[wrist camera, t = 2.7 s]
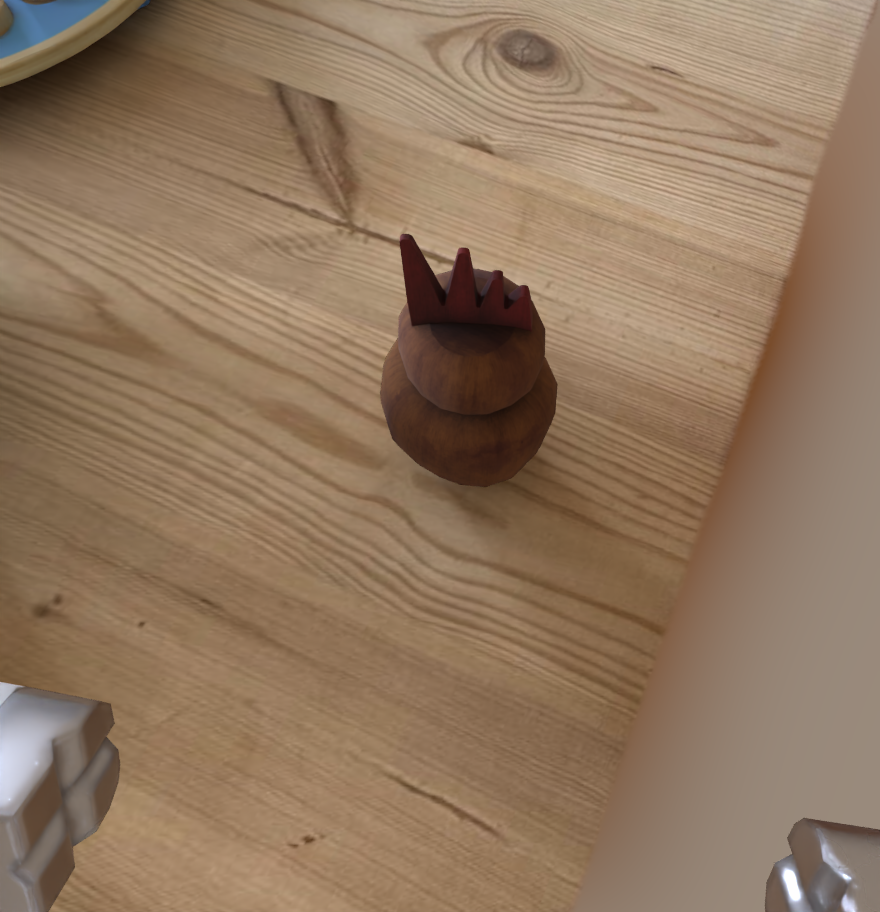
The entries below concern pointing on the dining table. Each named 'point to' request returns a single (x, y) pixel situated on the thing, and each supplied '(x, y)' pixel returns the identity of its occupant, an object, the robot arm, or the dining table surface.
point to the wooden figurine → (467, 372)
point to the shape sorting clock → (53, 31)
